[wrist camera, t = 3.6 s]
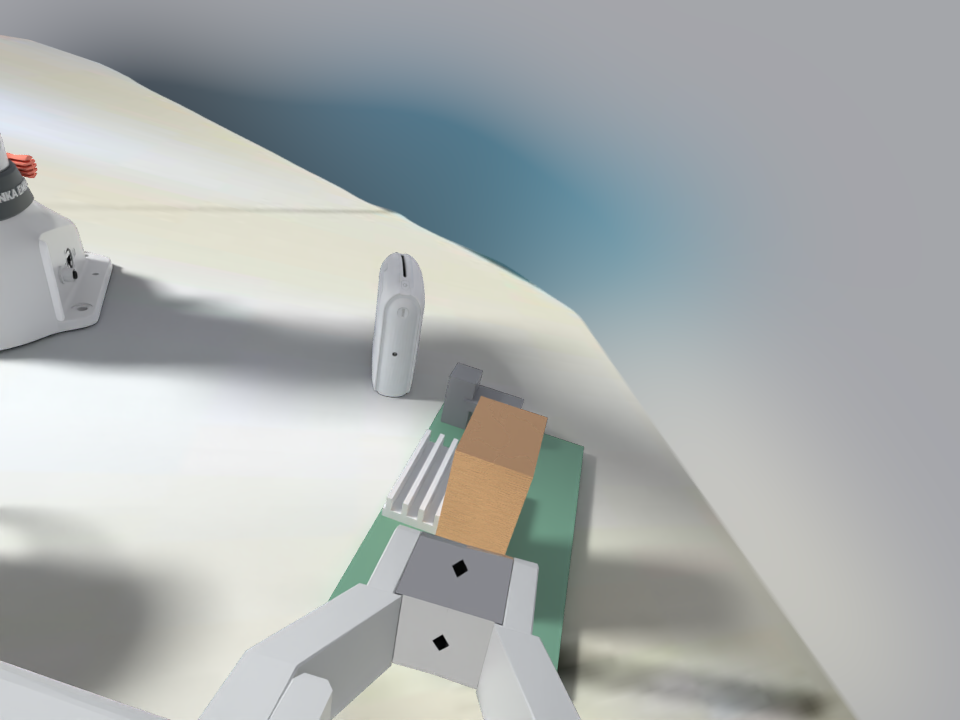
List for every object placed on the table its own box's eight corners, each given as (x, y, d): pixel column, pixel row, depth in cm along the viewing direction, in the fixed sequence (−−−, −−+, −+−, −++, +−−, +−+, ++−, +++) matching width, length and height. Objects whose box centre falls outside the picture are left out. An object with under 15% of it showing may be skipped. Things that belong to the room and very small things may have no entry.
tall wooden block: (483, 614, 30) (533, 477, 23) (422, 590, 30) (455, 449, 24) (514, 497, 38) (558, 374, 32) (467, 480, 38) (500, 355, 32)
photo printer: (413, 399, 48) (431, 288, 42) (369, 397, 47) (381, 282, 41) (408, 345, 57) (423, 245, 50) (371, 342, 56) (381, 239, 49)
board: (548, 701, 28) (583, 643, 24) (327, 612, 29) (331, 546, 26) (580, 456, 46) (602, 403, 43) (443, 410, 48) (454, 356, 45)
